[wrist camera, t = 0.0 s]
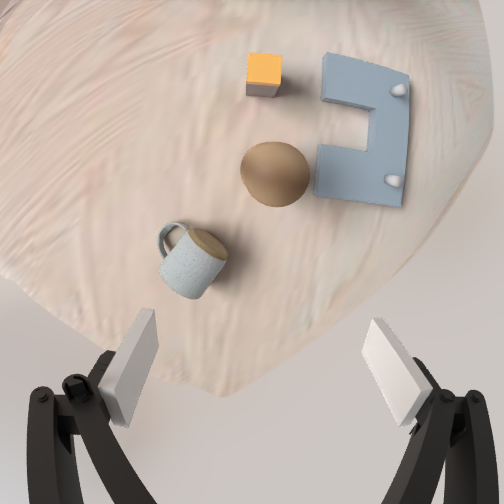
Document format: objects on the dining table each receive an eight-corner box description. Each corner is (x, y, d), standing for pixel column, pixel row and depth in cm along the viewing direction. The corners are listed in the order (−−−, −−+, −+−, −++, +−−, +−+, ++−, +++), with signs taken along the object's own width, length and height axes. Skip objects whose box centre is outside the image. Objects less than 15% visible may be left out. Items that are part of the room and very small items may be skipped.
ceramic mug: (233, 247, 44) (230, 265, 36) (203, 285, 46) (195, 309, 38) (177, 206, 41) (162, 217, 34) (150, 248, 43) (133, 265, 36)
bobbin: (242, 140, 38) (241, 134, 27) (297, 145, 39) (317, 141, 28) (238, 194, 41) (236, 209, 30) (292, 198, 41) (310, 214, 30)
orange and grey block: (248, 71, 35) (248, 52, 27) (275, 73, 35) (282, 55, 27) (246, 95, 36) (246, 81, 29) (273, 97, 36) (280, 84, 29)
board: (322, 57, 34) (333, 45, 29) (401, 78, 35) (418, 71, 29) (313, 194, 41) (322, 199, 36) (392, 204, 42) (409, 211, 37)
